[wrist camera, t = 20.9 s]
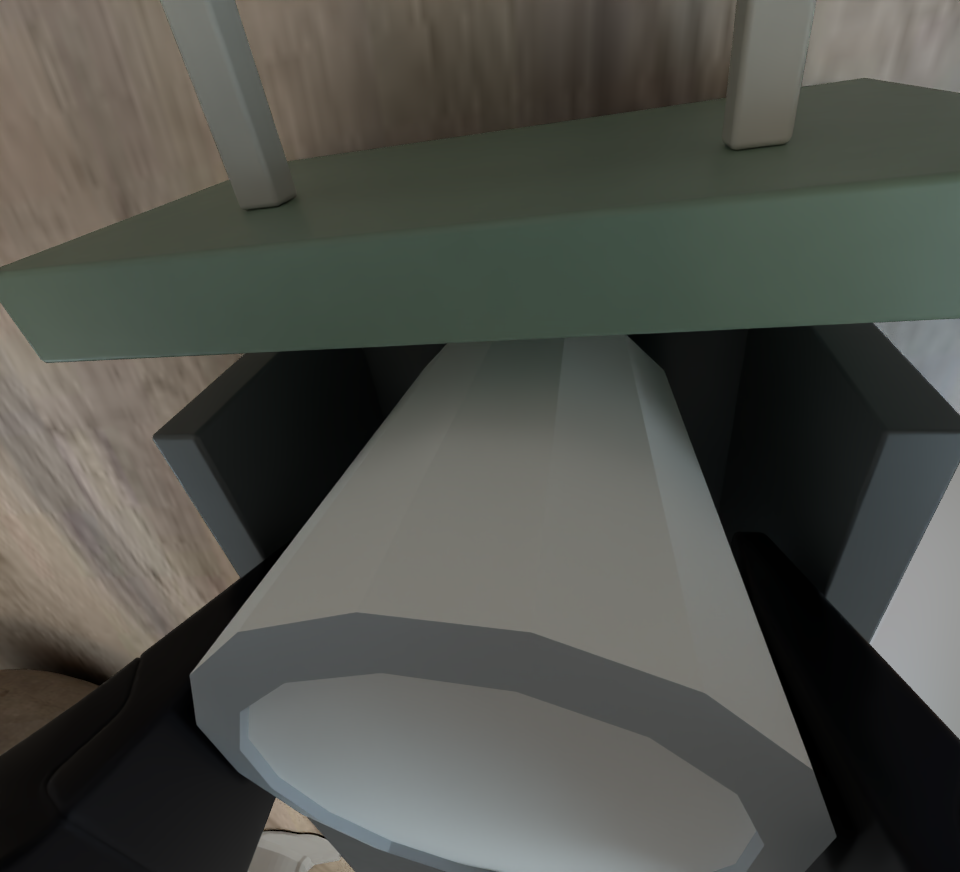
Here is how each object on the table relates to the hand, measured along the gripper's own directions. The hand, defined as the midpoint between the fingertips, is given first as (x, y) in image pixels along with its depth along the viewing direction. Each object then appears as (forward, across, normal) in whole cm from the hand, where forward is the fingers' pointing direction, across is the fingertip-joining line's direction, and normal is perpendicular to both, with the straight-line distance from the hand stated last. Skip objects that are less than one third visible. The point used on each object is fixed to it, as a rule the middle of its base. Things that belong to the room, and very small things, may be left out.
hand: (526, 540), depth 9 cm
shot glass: (+3, 0, 0) cm, 3 cm away
